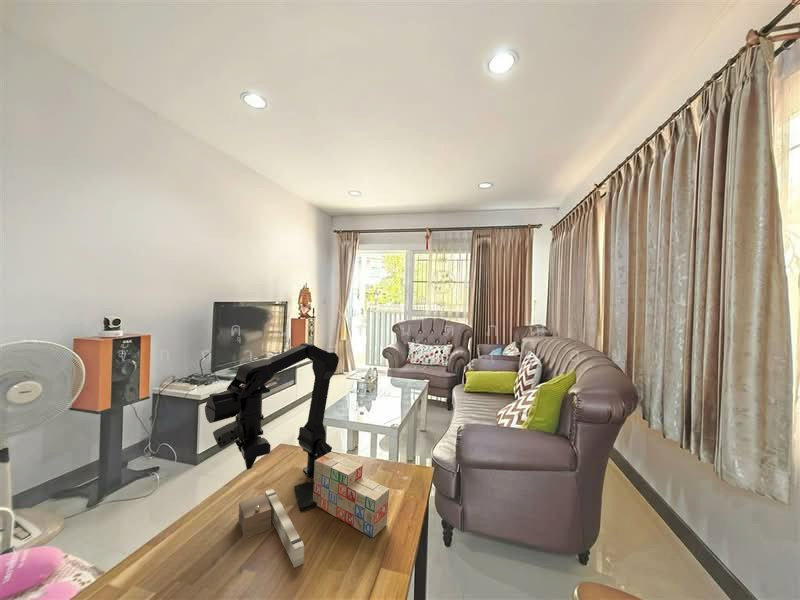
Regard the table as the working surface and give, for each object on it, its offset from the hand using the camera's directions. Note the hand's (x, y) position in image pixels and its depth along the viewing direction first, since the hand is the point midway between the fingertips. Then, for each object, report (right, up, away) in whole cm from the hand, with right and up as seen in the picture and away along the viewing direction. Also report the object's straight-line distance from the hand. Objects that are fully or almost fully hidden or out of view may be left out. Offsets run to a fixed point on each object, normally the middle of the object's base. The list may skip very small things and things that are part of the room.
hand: (248, 468), depth 85 cm
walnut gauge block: (+4, -11, -6) cm, 13 cm away
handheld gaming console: (+16, -11, +6) cm, 20 cm away
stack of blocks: (+27, -12, -1) cm, 30 cm away
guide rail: (+12, -11, -8) cm, 18 cm away
